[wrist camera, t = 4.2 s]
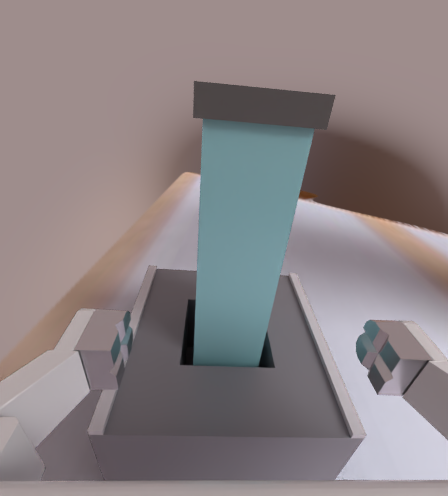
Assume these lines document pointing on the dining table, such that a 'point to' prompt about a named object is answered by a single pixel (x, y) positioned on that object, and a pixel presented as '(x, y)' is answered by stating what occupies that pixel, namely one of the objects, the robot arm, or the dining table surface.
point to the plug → (246, 210)
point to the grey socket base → (224, 397)
